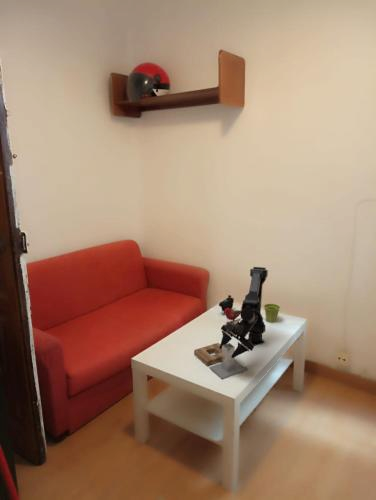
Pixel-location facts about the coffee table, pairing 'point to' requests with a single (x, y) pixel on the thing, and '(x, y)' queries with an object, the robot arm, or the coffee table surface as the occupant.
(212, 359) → the brown wooden frame
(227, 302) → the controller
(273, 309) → the plant pot
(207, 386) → the coffee table surface
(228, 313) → the decorative bird figurine
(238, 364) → the grey mat
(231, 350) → the steel key bar
